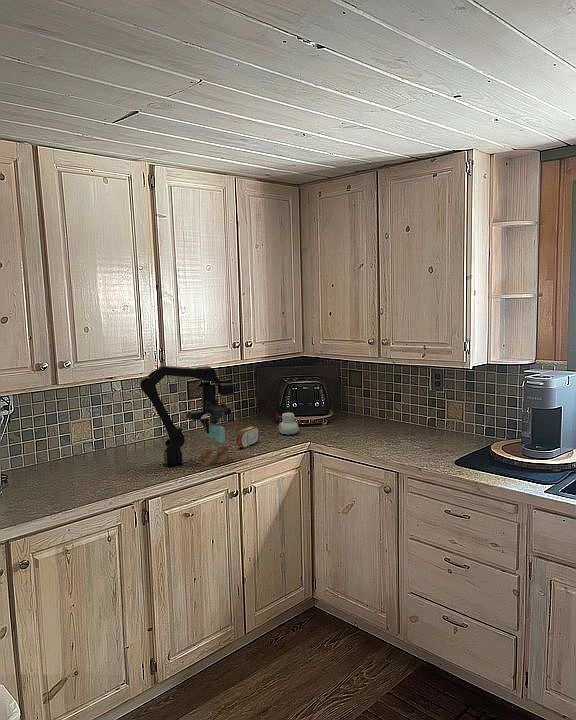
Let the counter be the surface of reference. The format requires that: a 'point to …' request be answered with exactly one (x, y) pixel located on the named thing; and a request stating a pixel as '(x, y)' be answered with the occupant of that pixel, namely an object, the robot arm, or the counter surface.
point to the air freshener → (288, 424)
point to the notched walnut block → (209, 459)
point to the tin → (247, 436)
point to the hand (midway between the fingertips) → (209, 433)
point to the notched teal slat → (216, 432)
